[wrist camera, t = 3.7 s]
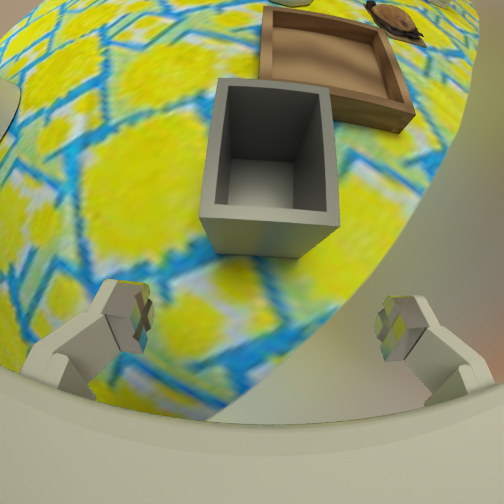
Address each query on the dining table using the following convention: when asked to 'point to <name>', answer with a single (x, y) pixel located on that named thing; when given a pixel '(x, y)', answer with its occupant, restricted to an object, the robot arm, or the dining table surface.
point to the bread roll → (395, 23)
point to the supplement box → (440, 3)
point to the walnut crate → (337, 65)
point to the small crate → (270, 169)
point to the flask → (293, 2)
